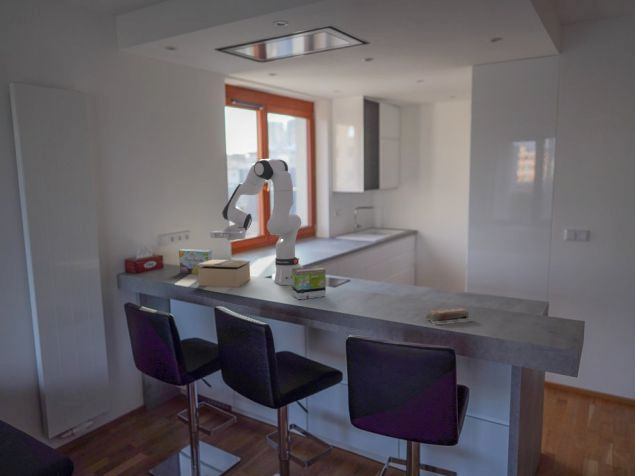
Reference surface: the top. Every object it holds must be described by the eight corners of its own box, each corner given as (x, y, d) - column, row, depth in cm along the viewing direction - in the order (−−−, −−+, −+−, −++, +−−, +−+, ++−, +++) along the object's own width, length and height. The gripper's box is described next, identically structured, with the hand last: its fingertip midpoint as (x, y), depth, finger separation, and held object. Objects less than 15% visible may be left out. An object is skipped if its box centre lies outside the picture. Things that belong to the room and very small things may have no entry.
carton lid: (250, 262, 278) (250, 260, 278) (237, 267, 260) (237, 265, 260) (212, 261, 284) (212, 259, 284) (197, 265, 266) (197, 263, 266)
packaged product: (434, 315, 194) (424, 308, 204) (434, 326, 195) (424, 318, 204) (474, 311, 197) (462, 304, 207) (474, 322, 198) (462, 315, 208)
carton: (250, 279, 280) (249, 263, 278) (238, 287, 262) (237, 269, 261) (213, 277, 285) (212, 261, 284) (199, 285, 268) (198, 268, 266)
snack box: (179, 273, 300) (178, 250, 298) (184, 271, 306) (183, 248, 303) (209, 274, 294) (207, 251, 292) (213, 272, 299) (212, 249, 297)
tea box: (298, 300, 234) (297, 271, 232) (292, 295, 243) (291, 267, 241) (326, 297, 239) (325, 268, 237) (319, 292, 249) (318, 265, 246)
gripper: (215, 227, 284) (205, 230, 271) (247, 228, 279) (238, 231, 266) (216, 237, 285) (205, 241, 272) (247, 238, 280) (238, 242, 267)
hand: (222, 236), depth 269 cm, fingers closed
